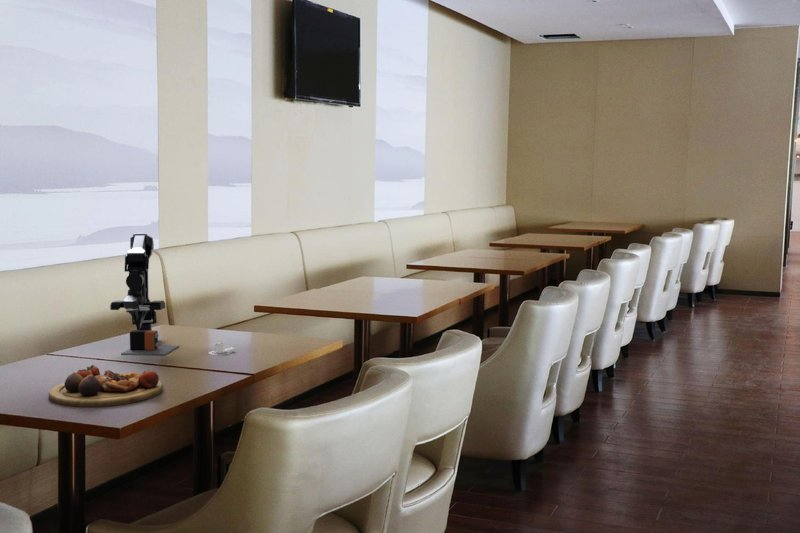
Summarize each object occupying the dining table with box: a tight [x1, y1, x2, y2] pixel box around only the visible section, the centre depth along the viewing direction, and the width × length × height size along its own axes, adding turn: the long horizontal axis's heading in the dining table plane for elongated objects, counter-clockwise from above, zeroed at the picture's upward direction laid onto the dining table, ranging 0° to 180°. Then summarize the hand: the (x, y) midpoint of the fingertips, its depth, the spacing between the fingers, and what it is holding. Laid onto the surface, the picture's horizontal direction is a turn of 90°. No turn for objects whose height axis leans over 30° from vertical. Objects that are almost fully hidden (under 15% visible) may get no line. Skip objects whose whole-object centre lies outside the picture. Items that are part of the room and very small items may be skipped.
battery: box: [129, 329, 160, 351], centre depth 327 cm, size 4×7×10 cm
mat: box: [120, 344, 180, 357], centre depth 328 cm, size 16×16×1 cm
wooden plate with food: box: [48, 364, 164, 408], centre depth 264 cm, size 32×32×8 cm
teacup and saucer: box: [208, 341, 235, 356], centre depth 324 cm, size 9×8×4 cm
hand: (138, 328), depth 327 cm, fingers closed
